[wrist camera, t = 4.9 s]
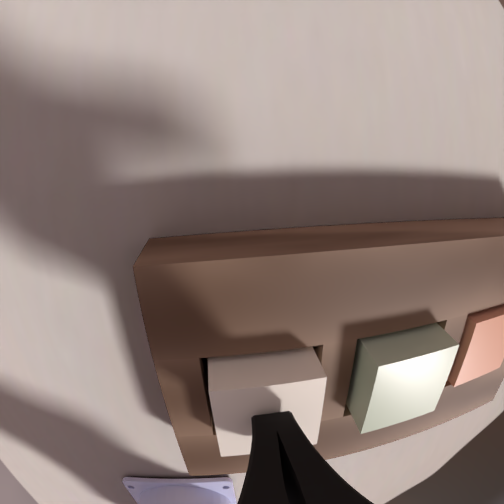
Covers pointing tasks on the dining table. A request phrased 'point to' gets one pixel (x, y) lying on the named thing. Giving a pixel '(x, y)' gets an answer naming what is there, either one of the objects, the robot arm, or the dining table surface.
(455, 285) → the button panel
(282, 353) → the cream button
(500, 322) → the terracotta button
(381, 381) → the sage button
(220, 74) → the dining table surface
